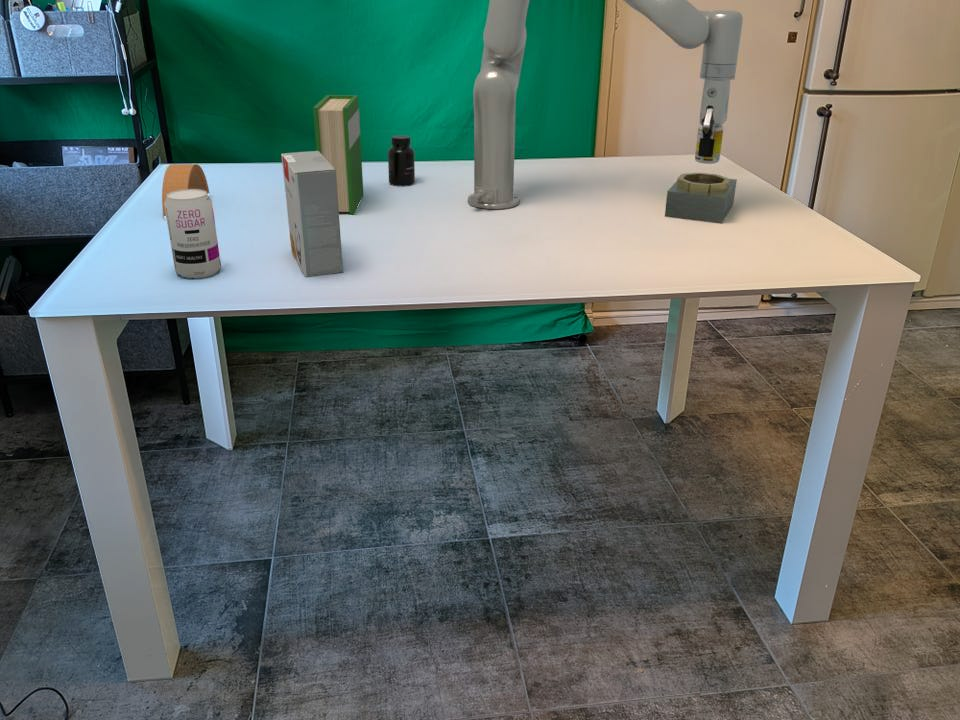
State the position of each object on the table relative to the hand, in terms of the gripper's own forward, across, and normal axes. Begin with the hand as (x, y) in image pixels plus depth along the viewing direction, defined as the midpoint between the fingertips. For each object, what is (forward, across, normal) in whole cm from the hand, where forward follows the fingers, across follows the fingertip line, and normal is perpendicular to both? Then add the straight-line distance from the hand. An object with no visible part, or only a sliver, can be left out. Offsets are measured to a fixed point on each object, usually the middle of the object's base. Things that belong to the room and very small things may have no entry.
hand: (707, 152), depth 189 cm
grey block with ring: (+14, +2, 0) cm, 14 cm away
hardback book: (+13, -32, +79) cm, 86 cm away
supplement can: (+13, -83, +79) cm, 115 cm away
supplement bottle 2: (+2, 0, 0) cm, 2 cm away
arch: (+13, -49, +111) cm, 122 cm away
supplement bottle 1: (+14, -8, +76) cm, 78 cm away
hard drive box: (+14, -69, +62) cm, 94 cm away
